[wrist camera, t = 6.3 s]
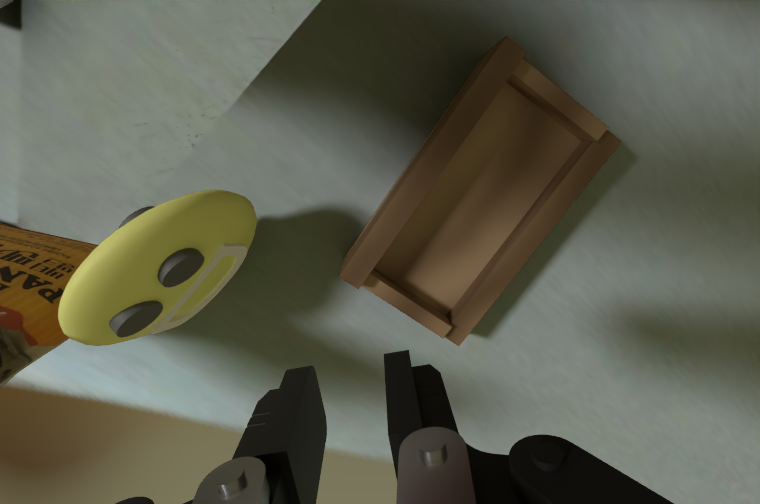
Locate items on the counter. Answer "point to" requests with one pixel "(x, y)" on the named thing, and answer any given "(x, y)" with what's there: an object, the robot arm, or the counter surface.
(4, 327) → the pancake mix bag
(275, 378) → the counter surface
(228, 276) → the emoji
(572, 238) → the counter surface
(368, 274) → the walnut open tray
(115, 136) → the counter surface
